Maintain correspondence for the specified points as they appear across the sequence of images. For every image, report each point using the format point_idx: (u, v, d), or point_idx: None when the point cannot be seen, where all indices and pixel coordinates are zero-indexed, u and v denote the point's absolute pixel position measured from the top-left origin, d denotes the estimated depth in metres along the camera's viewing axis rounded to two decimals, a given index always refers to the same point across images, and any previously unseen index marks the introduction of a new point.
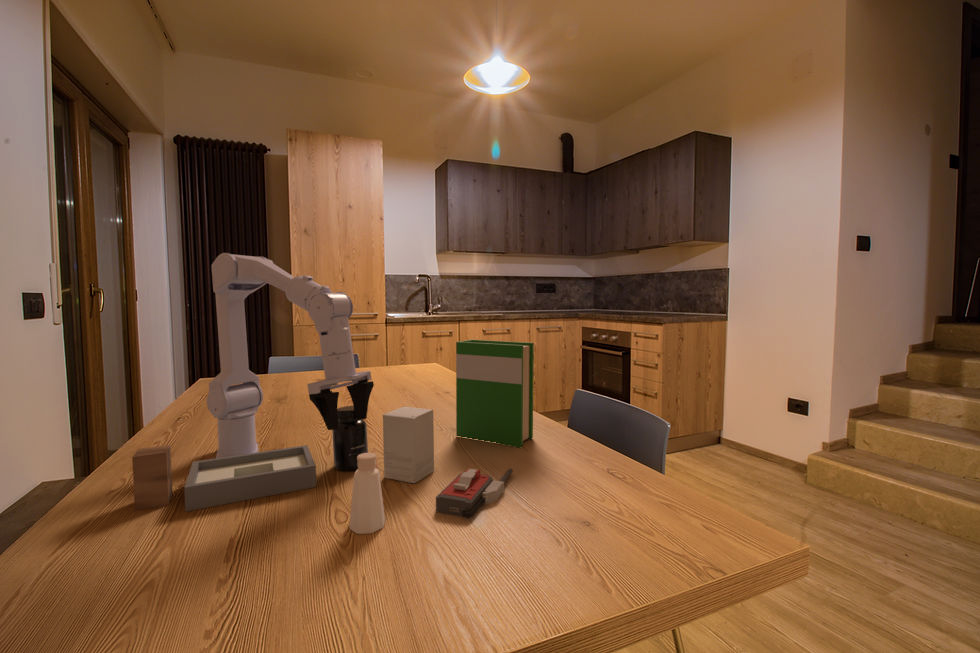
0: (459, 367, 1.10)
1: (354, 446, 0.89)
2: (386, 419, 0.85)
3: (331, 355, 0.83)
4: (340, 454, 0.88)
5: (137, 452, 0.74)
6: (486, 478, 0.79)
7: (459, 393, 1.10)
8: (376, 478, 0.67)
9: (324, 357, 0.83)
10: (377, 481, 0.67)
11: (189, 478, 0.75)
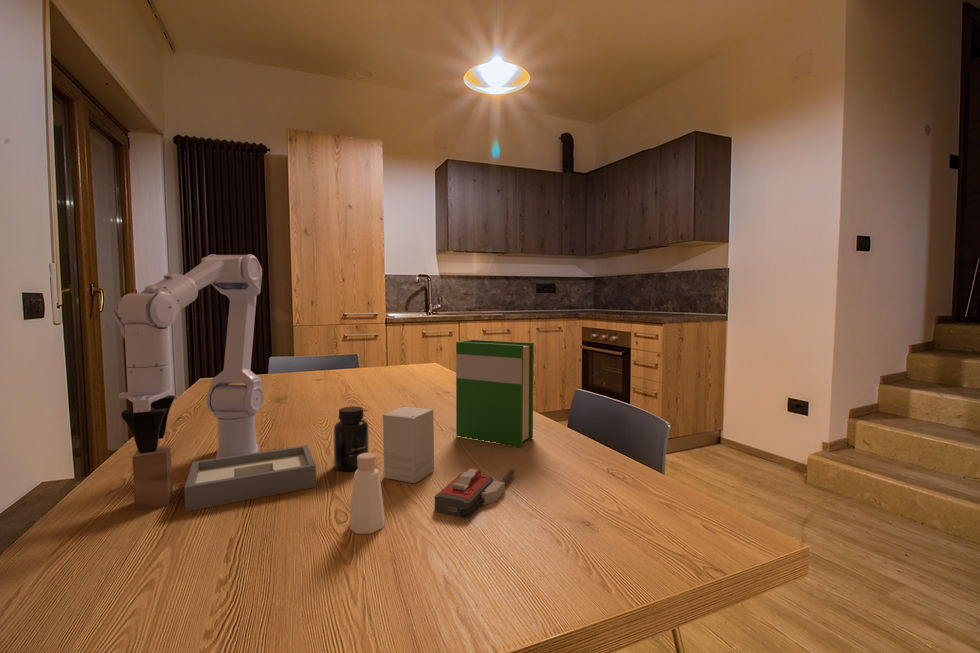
0: (459, 367, 1.10)
1: (355, 447, 0.89)
2: (386, 419, 0.85)
3: None
4: (341, 454, 0.88)
5: (137, 452, 0.74)
6: (486, 479, 0.79)
7: (459, 393, 1.10)
8: (376, 478, 0.67)
9: None
10: (377, 481, 0.67)
11: (189, 478, 0.75)
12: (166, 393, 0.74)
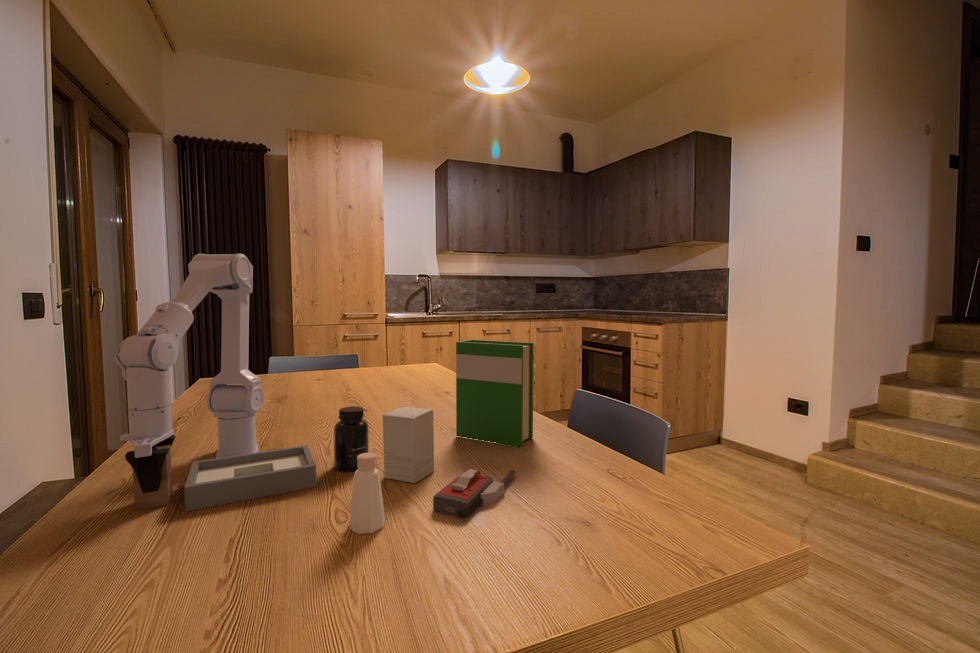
0: (459, 367, 1.10)
1: (354, 447, 0.89)
2: (386, 419, 0.85)
3: None
4: (341, 454, 0.88)
5: None
6: (486, 479, 0.79)
7: (459, 393, 1.10)
8: (376, 478, 0.67)
9: None
10: (377, 481, 0.67)
11: (189, 478, 0.75)
12: (167, 434, 0.74)
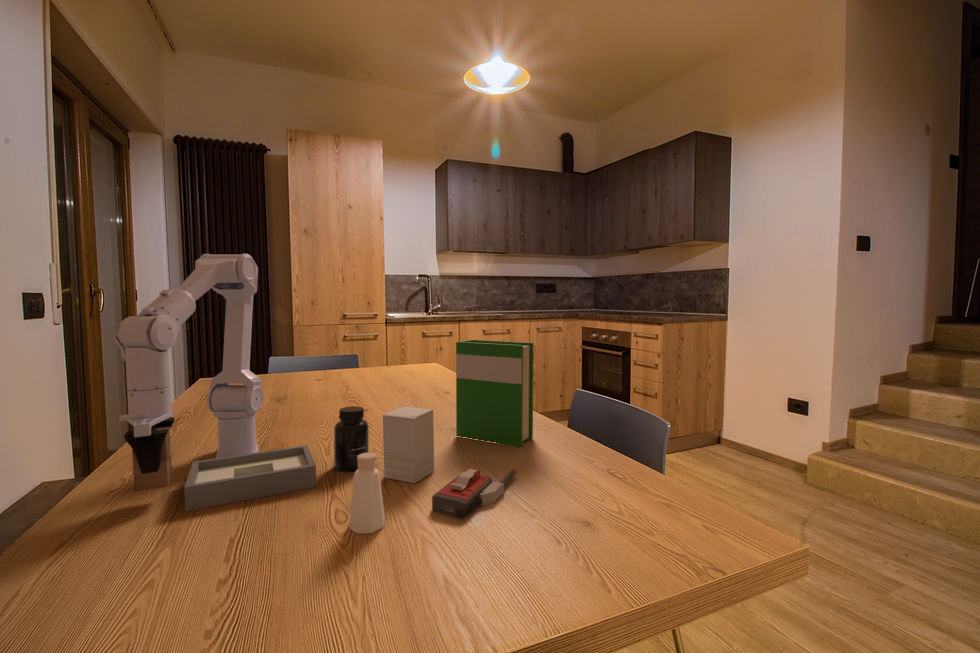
0: (459, 367, 1.10)
1: (354, 447, 0.89)
2: (386, 419, 0.85)
3: None
4: (341, 454, 0.88)
5: None
6: (485, 479, 0.79)
7: (459, 393, 1.10)
8: (376, 478, 0.67)
9: None
10: (377, 481, 0.67)
11: (189, 478, 0.75)
12: (167, 415, 0.74)
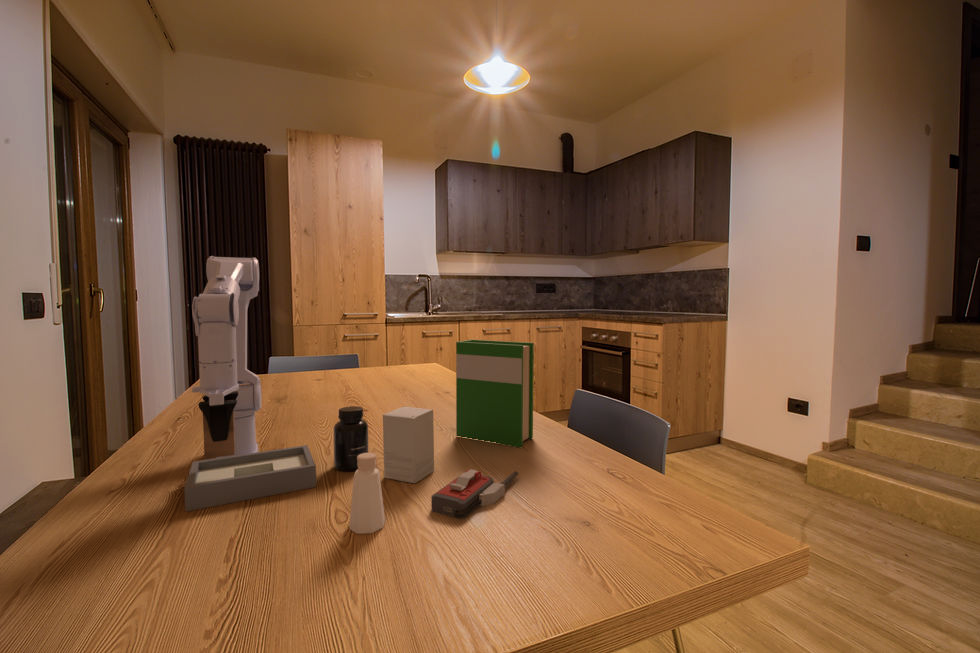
0: (459, 367, 1.10)
1: (354, 447, 0.89)
2: (386, 419, 0.85)
3: None
4: (340, 454, 0.88)
5: None
6: (486, 480, 0.78)
7: (459, 393, 1.10)
8: (376, 478, 0.67)
9: None
10: (377, 481, 0.67)
11: (189, 478, 0.75)
12: (235, 387, 0.78)
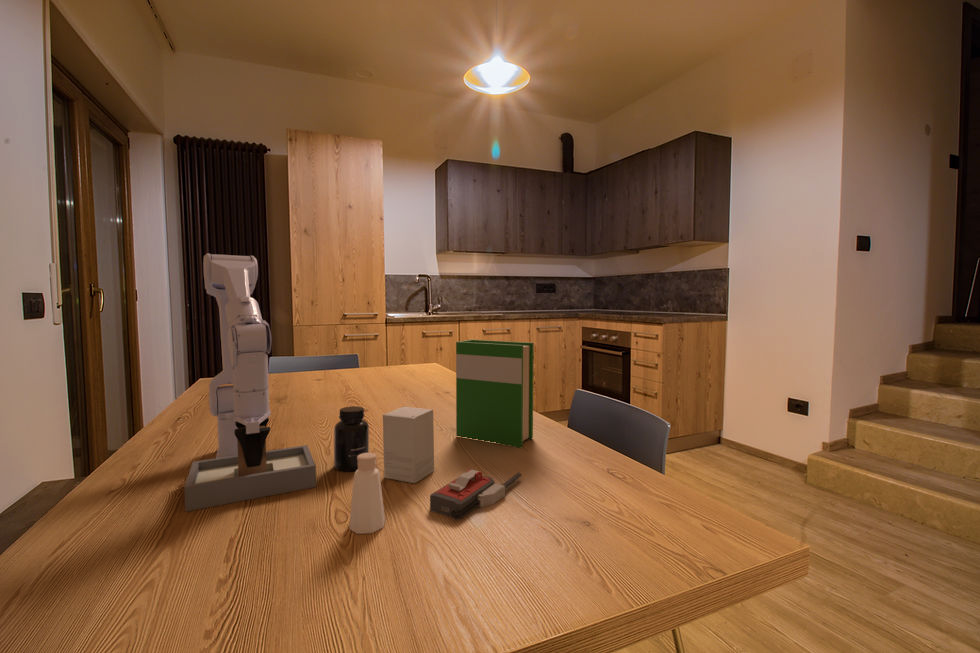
0: (459, 367, 1.10)
1: (354, 447, 0.89)
2: (386, 419, 0.85)
3: None
4: (340, 454, 0.88)
5: None
6: (486, 481, 0.78)
7: (459, 393, 1.10)
8: (376, 478, 0.67)
9: None
10: (377, 481, 0.67)
11: (189, 478, 0.75)
12: (267, 414, 0.81)
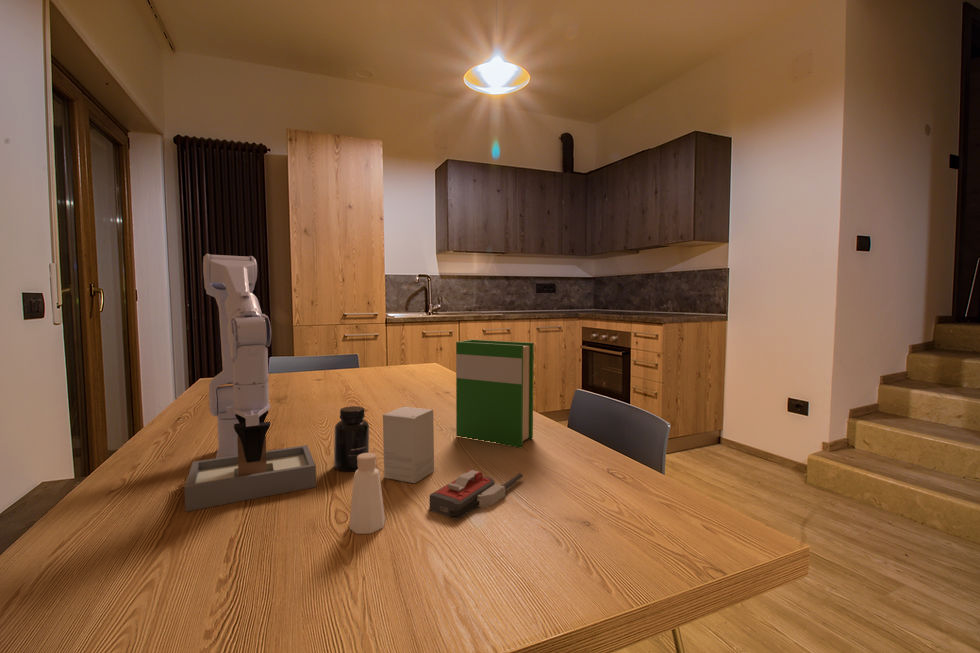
0: (459, 367, 1.10)
1: (354, 447, 0.89)
2: (386, 419, 0.85)
3: None
4: (340, 454, 0.88)
5: None
6: (486, 481, 0.78)
7: (459, 393, 1.10)
8: (376, 478, 0.67)
9: None
10: (377, 481, 0.67)
11: (189, 478, 0.75)
12: (267, 407, 0.81)
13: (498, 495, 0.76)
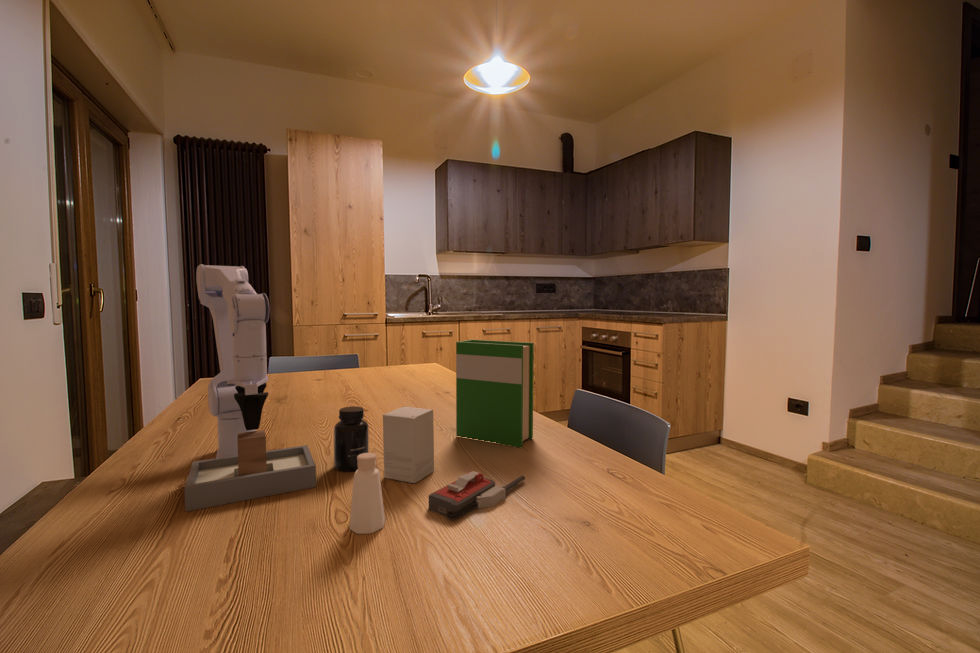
0: (459, 367, 1.10)
1: (353, 447, 0.88)
2: (386, 419, 0.85)
3: None
4: (340, 454, 0.88)
5: (239, 436, 0.81)
6: (487, 483, 0.78)
7: (459, 393, 1.10)
8: (376, 478, 0.67)
9: None
10: (377, 481, 0.67)
11: (189, 478, 0.75)
12: (265, 379, 0.86)
13: (498, 497, 0.76)
